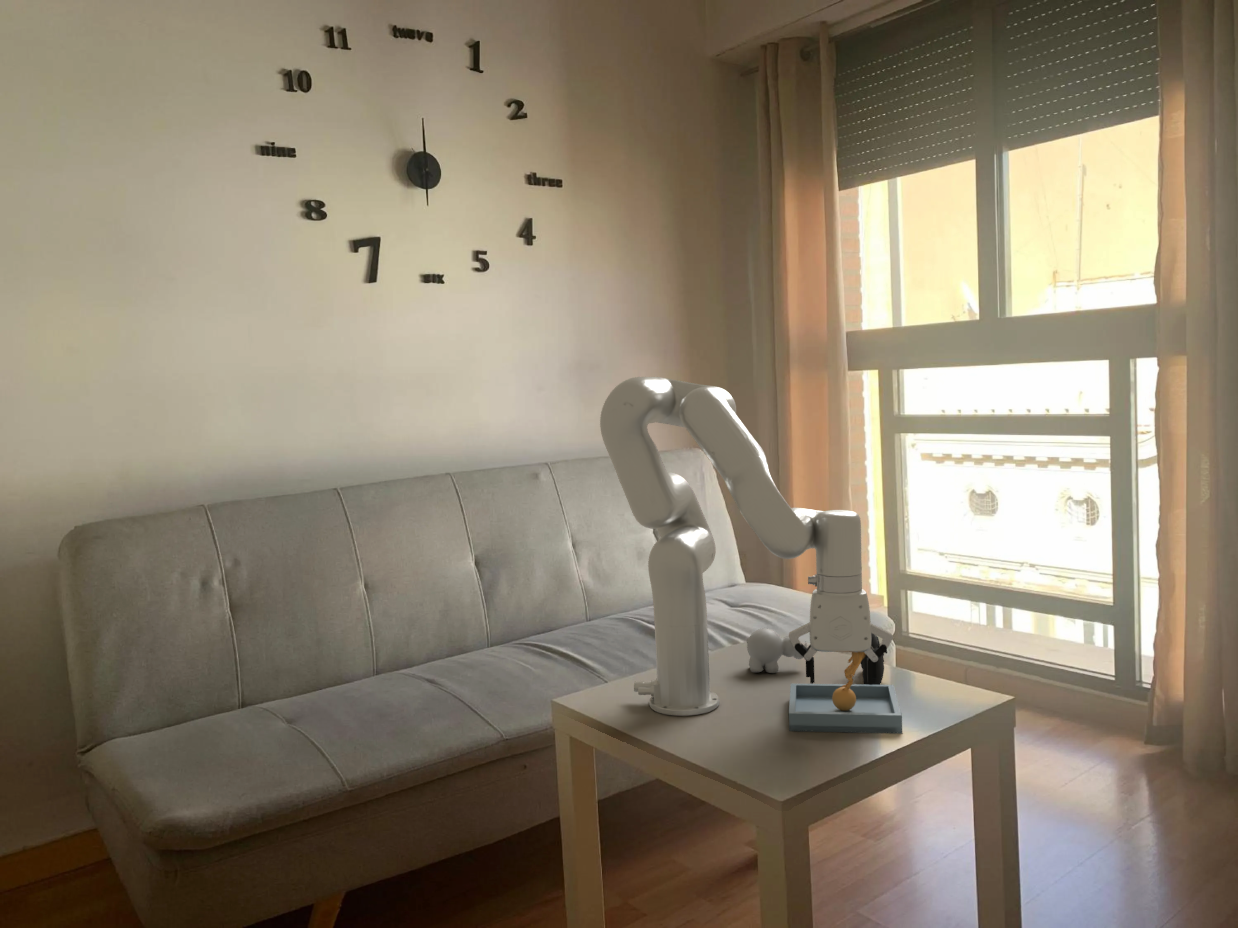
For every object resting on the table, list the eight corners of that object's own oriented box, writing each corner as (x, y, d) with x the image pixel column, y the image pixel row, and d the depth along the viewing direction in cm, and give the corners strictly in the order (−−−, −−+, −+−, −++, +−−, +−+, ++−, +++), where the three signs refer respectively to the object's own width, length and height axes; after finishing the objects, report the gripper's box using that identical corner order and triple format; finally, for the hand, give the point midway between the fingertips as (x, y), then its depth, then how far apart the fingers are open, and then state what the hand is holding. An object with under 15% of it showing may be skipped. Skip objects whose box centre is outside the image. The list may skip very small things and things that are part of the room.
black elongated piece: (891, 692, 177) (890, 639, 177) (857, 692, 179) (855, 639, 178) (886, 670, 191) (884, 620, 190) (854, 669, 192) (853, 620, 192)
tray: (789, 730, 160) (788, 713, 160) (791, 699, 176) (790, 683, 176) (902, 733, 157) (901, 715, 157) (893, 701, 173) (893, 684, 172)
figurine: (831, 702, 171) (829, 635, 170) (866, 702, 170) (864, 634, 169) (833, 718, 163) (831, 647, 162) (870, 718, 162) (868, 647, 161)
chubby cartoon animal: (809, 675, 190) (808, 632, 189) (747, 676, 191) (746, 633, 191) (806, 664, 197) (805, 623, 196) (747, 665, 199) (745, 624, 198)
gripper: (786, 587, 163) (789, 687, 164) (893, 588, 159) (895, 690, 161) (787, 578, 170) (790, 674, 171) (890, 578, 167) (891, 676, 168)
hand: (840, 681), depth 166 cm, fingers open, 9 cm apart
